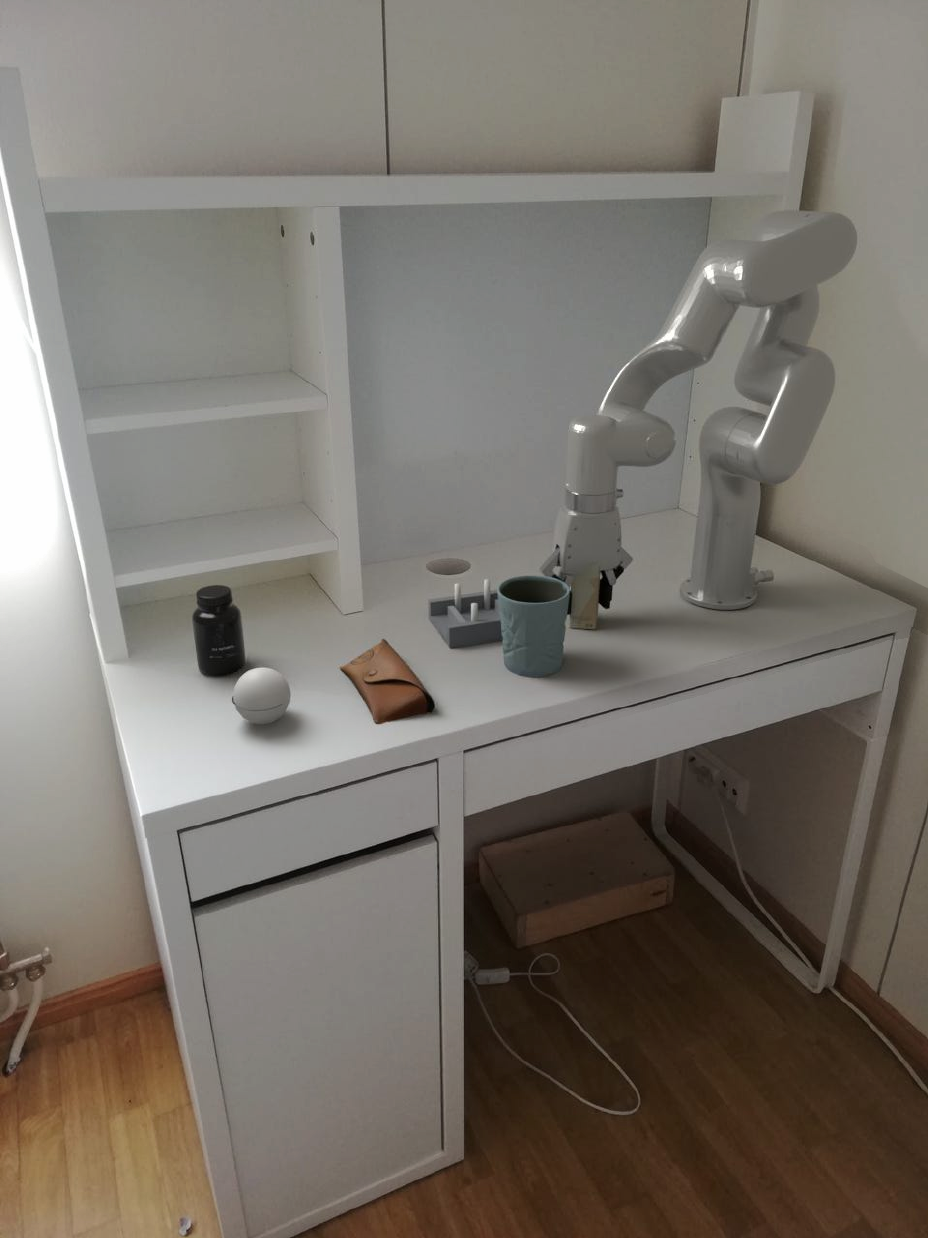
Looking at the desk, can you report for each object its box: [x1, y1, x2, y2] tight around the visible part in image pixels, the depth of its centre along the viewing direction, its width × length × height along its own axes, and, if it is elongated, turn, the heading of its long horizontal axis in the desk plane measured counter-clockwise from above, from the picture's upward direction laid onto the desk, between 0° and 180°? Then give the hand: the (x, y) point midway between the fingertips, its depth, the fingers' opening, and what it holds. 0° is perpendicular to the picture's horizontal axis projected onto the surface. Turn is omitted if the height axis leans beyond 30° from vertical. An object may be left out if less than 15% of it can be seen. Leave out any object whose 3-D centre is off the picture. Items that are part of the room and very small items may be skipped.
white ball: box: [231, 667, 292, 725], centre depth 117 cm, size 10×7×7 cm
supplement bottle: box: [191, 584, 247, 677], centre depth 130 cm, size 7×7×12 cm
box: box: [568, 562, 601, 630], centre depth 143 cm, size 5×4×11 cm
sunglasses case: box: [339, 638, 436, 725], centre depth 126 cm, size 18×7×7 cm
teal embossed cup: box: [496, 574, 571, 678], centre depth 130 cm, size 10×10×12 cm
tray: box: [427, 578, 503, 649], centre depth 143 cm, size 14×11×6 cm
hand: (584, 607), depth 144 cm, fingers closed on box, 6 cm apart
